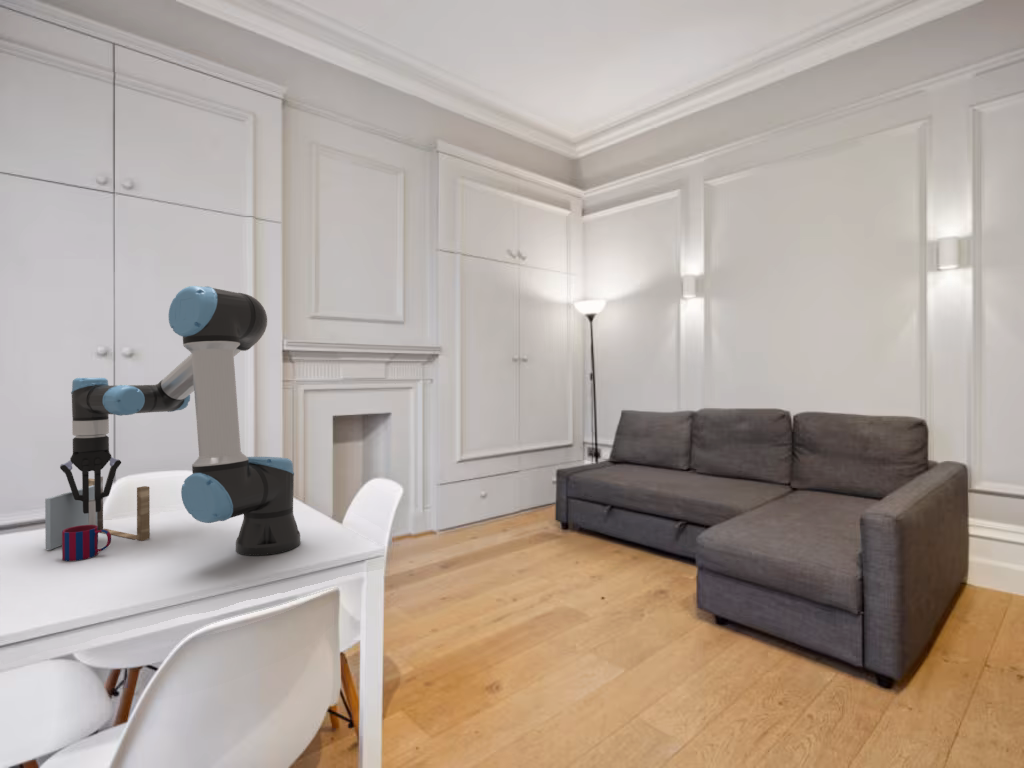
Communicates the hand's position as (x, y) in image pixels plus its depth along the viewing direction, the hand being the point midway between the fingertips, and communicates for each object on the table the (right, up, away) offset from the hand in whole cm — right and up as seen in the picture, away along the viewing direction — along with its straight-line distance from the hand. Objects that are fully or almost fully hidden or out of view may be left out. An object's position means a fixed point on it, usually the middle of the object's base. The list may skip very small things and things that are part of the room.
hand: (92, 524), depth 141 cm
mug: (+9, -5, -12) cm, 16 cm away
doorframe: (+2, -4, +6) cm, 7 cm away
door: (-5, -4, -1) cm, 6 cm away
